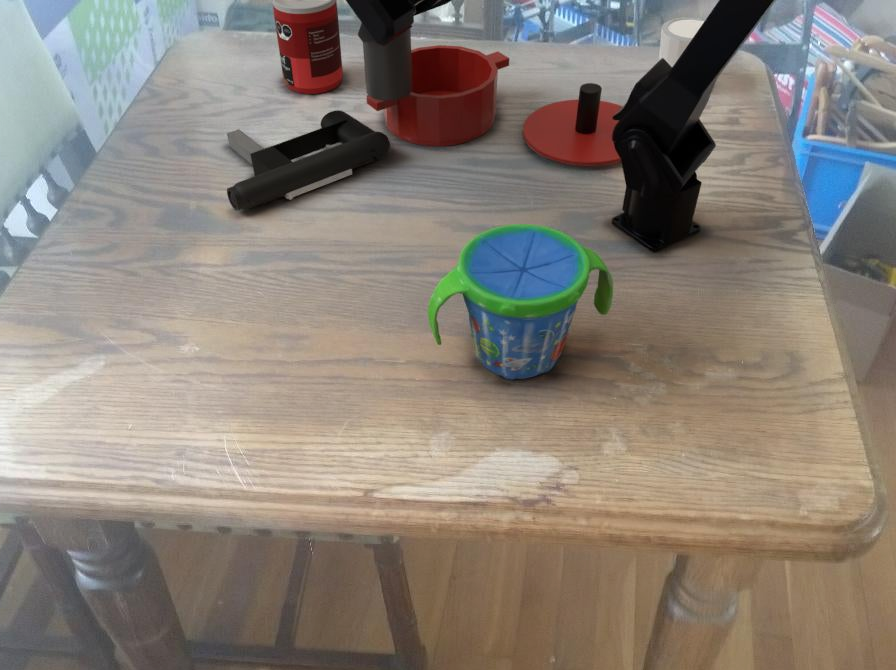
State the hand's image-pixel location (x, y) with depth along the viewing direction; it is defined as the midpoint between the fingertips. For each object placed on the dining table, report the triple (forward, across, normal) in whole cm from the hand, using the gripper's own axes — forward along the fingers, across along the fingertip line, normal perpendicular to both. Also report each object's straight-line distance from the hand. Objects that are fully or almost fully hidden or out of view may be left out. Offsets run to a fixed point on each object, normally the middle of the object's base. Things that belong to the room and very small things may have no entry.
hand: (376, 28), depth 93 cm
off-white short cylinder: (-8, -30, +27) cm, 41 cm away
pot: (+8, -8, +11) cm, 16 cm away
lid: (-5, -13, +23) cm, 27 cm away
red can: (+22, -8, -2) cm, 23 cm away
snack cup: (-12, +24, +32) cm, 42 cm away
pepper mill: (+4, 0, +6) cm, 7 cm away
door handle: (+14, +9, +5) cm, 18 cm away
